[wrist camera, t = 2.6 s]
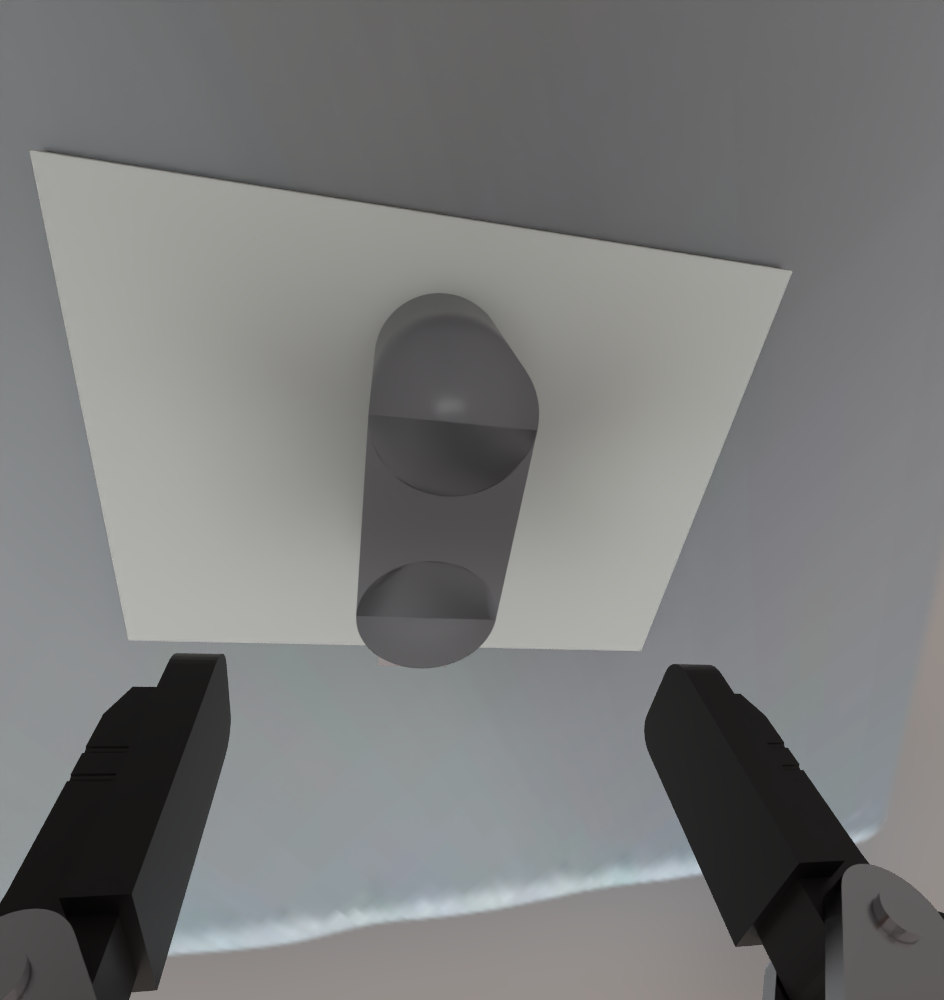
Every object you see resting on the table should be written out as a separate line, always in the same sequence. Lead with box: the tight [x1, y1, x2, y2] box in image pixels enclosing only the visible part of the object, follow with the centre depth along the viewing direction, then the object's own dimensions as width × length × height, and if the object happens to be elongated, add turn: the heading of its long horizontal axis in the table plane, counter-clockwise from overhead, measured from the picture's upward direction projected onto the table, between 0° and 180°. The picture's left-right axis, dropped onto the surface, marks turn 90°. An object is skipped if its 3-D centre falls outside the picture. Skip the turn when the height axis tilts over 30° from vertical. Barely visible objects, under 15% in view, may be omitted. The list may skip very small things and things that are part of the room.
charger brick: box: [356, 293, 539, 668], centre depth 17 cm, size 12×4×5 cm, turn 171°
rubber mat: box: [29, 150, 793, 651], centre depth 20 cm, size 16×21×1 cm
